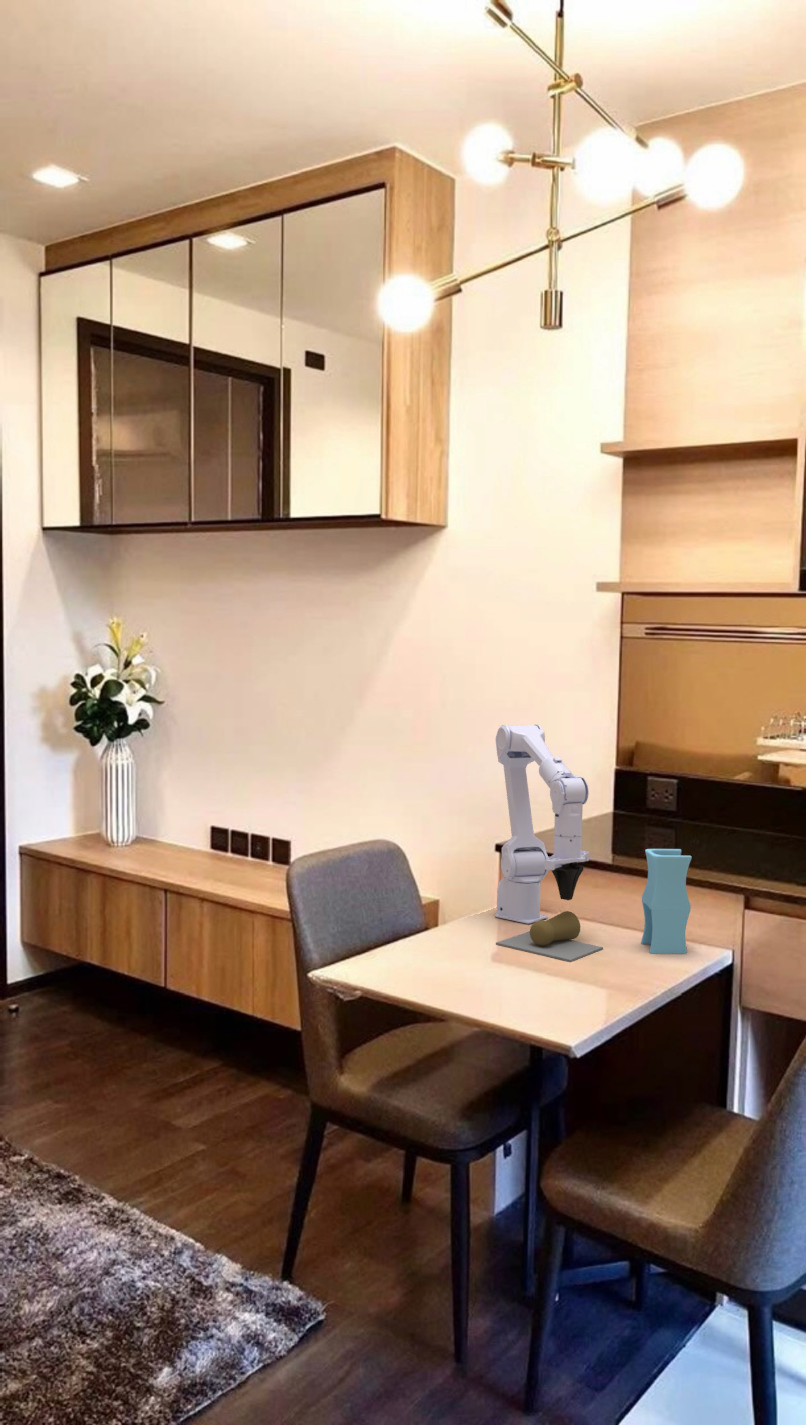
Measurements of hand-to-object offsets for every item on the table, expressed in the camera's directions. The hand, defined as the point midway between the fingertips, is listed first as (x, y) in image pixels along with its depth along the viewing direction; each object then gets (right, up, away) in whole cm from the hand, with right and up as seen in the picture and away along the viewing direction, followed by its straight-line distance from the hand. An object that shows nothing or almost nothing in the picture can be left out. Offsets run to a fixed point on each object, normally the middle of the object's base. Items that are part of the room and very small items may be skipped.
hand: (566, 899), depth 228 cm
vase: (+20, -10, -4) cm, 22 cm away
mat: (-4, -9, -4) cm, 11 cm away
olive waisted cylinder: (+1, -6, +2) cm, 6 cm away
